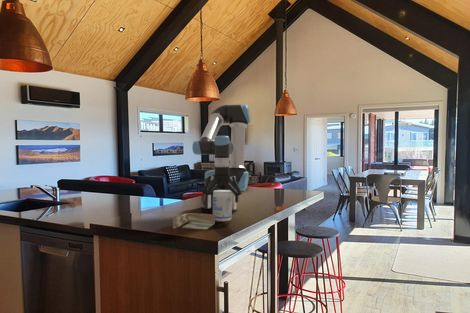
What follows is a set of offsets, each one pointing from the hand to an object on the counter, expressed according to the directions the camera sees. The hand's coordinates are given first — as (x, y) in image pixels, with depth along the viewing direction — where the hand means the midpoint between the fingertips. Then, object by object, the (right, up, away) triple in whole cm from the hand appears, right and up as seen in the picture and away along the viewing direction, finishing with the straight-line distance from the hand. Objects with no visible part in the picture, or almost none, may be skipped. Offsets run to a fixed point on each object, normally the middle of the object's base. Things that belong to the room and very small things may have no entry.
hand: (222, 208), depth 168 cm
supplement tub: (0, -6, 0) cm, 6 cm away
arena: (-12, -6, -11) cm, 18 cm away
